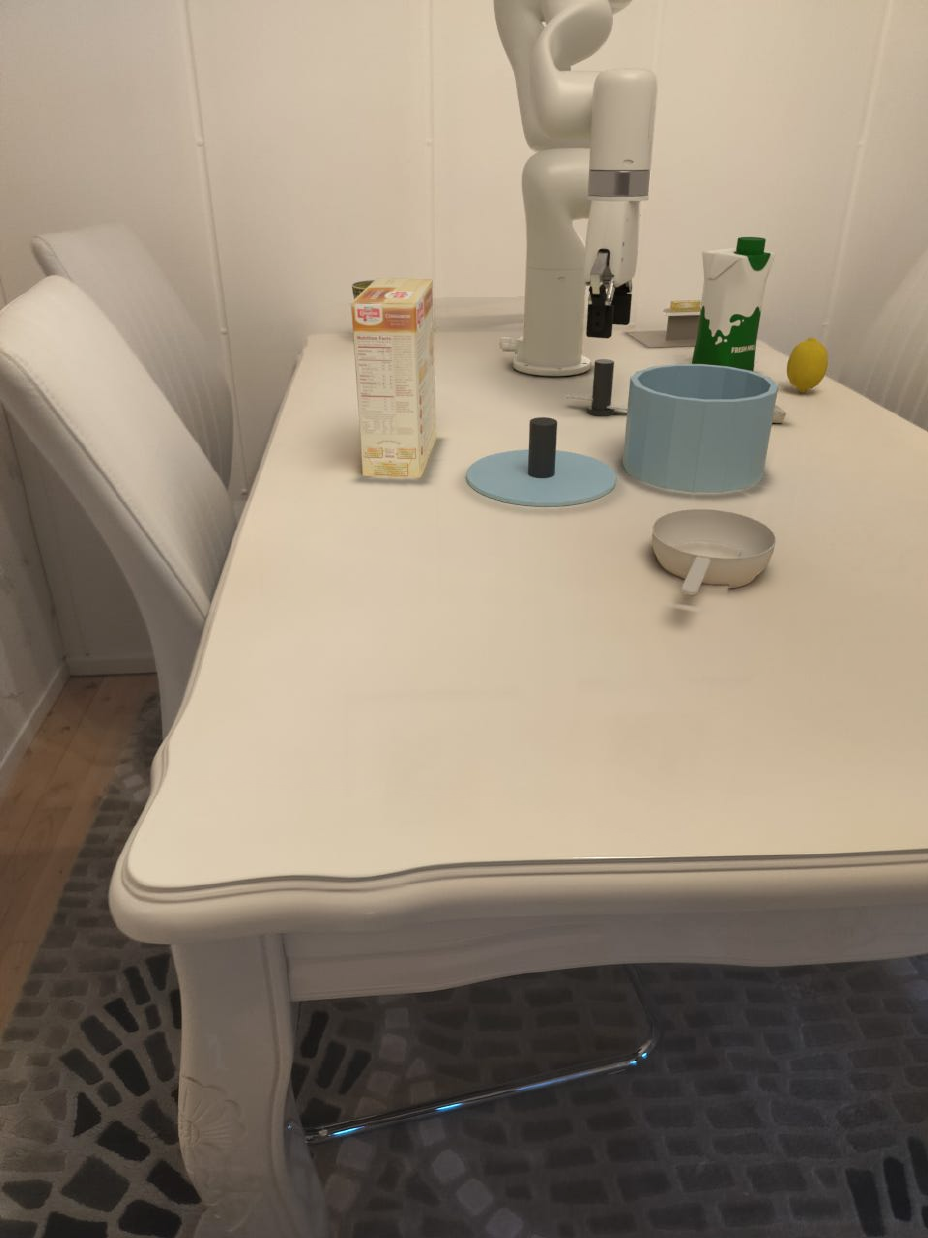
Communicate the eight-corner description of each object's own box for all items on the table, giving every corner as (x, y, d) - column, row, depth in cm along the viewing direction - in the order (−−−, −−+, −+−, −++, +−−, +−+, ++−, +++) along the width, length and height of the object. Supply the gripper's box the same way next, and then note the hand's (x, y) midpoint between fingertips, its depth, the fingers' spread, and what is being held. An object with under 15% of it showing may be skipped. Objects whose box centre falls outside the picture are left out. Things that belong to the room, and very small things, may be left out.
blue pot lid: (442, 497, 96) (441, 434, 92) (498, 450, 109) (499, 393, 106) (592, 521, 90) (597, 454, 87) (631, 468, 104) (637, 409, 100)
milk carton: (723, 381, 137) (743, 242, 127) (681, 369, 144) (697, 235, 134) (762, 373, 141) (784, 237, 131) (719, 362, 148) (737, 231, 138)
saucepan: (775, 553, 84) (782, 515, 82) (751, 645, 69) (759, 602, 67) (661, 535, 87) (666, 499, 85) (616, 619, 73) (620, 577, 71)
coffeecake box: (383, 438, 113) (375, 277, 104) (438, 440, 113) (435, 277, 103) (359, 480, 100) (347, 300, 91) (421, 482, 100) (416, 301, 90)
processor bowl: (608, 485, 99) (616, 391, 94) (640, 443, 111) (648, 358, 106) (752, 505, 94) (768, 408, 88) (768, 459, 106) (784, 371, 101)
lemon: (824, 398, 129) (835, 342, 125) (784, 396, 130) (794, 340, 126) (819, 388, 133) (829, 334, 129) (780, 386, 134) (790, 332, 130)
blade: (563, 411, 123) (566, 360, 120) (571, 404, 126) (574, 355, 123) (631, 419, 120) (636, 367, 117) (637, 412, 123) (642, 361, 120)
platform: (627, 333, 167) (630, 296, 164) (718, 329, 170) (722, 293, 166) (648, 347, 157) (652, 308, 154) (744, 343, 159) (750, 305, 156)
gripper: (606, 183, 117) (598, 317, 126) (568, 189, 103) (561, 340, 112) (663, 183, 115) (650, 321, 123) (632, 190, 101) (620, 345, 109)
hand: (608, 330), depth 117 cm, fingers open, 9 cm apart
